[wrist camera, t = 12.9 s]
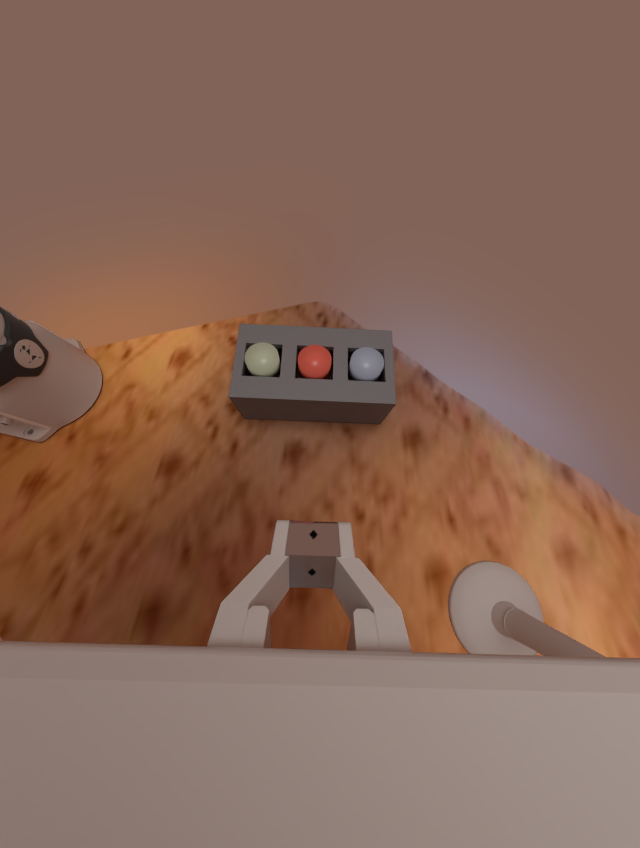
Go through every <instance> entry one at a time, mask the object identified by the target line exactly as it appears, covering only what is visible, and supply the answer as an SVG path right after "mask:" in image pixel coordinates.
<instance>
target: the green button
mask: <svg viewBox="0 0 640 848" xmlns="http://www.w3.org/2000/svg"><path fill="white" fill-rule="evenodd" d="M245 363H246V365H247V367H248V370H249V372H250V374H251V376H258V377H279V376H280V370H281V364H280V359H279V354H278V351H277V349H276V348H275V347H274V346H273V345H271V344H269V343H264V342H261V343H256V344H254V345H252V346H250V347H249V348H248V350H247V351H246V353H245Z"/></svg>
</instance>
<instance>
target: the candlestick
mask: <svg viewBox="0 0 640 848" xmlns="http://www.w3.org/2000/svg"><path fill="white" fill-rule="evenodd" d="M448 608H449V616H450V620H451V624H452V627H453V629H454V632H455V634H456V636H457V638H458V639H459V641H460V643H461V644H462V645H463V647H464V648H465V649H466V650H467V651H468V652H469V653H470V654H501V655H536V653H537V652H538V653H540V654H542V655H544V656H575V657H605V656H603V655H601V654H599V653H598V652H596V651H594V650H592V649H590V648H589V647H587V646H585V645H583V644H581V643H579V642H578V641H576V640H574V639H572V638H570V637H569V636H567V635H565V634H563V633H561V632H559V631H558V630H556V629H554V628H552V627H550V626H549V625H547V624H545V623H543V615H542V610H541V607H540V604H539V601H538V599H537V597H536V595H535V593H534V591H533V590H532V588H531V587H530V585H529V584H528V583H527V582H526V580H525V579H524V578H523V577H522V576H520V575H519V574H518V573H517V572H515V571H514V570H513V569H511V568H509V567H507V566H505V565H503V564H500V563H496V562H491V561H480V562H476V563H473V564H470V565H468V566H467V567H465V568H464V569H463V570H462V571H461V572H460V573H459V574H458V575H457V576H456V578H455V580H454V581H453V584H452V586H451V589H450V593H449V601H448Z"/></svg>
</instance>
